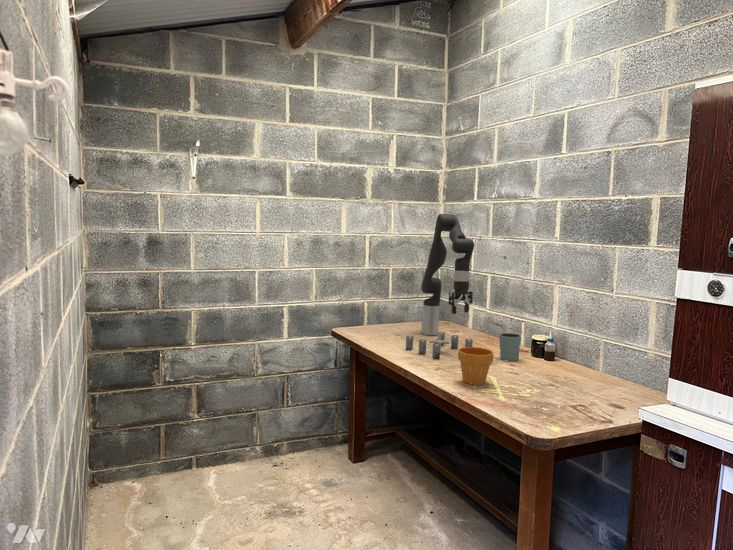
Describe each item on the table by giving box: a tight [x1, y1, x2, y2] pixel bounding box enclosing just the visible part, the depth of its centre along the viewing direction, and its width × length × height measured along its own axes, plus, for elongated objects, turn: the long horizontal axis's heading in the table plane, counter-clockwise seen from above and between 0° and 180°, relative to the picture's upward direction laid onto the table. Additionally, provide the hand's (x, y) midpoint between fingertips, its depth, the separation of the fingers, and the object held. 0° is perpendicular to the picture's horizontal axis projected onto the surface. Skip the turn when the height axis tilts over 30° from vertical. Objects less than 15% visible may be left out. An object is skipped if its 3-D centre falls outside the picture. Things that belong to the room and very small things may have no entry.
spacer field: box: [405, 331, 474, 360], centre depth 266 cm, size 24×26×7 cm
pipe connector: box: [428, 331, 450, 352], centre depth 266 cm, size 10×10×10 cm
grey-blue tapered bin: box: [498, 332, 522, 362], centre depth 254 cm, size 10×10×12 cm
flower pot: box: [457, 346, 494, 385], centre depth 215 cm, size 14×14×13 cm
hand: (460, 313), depth 256 cm, fingers open, 8 cm apart
